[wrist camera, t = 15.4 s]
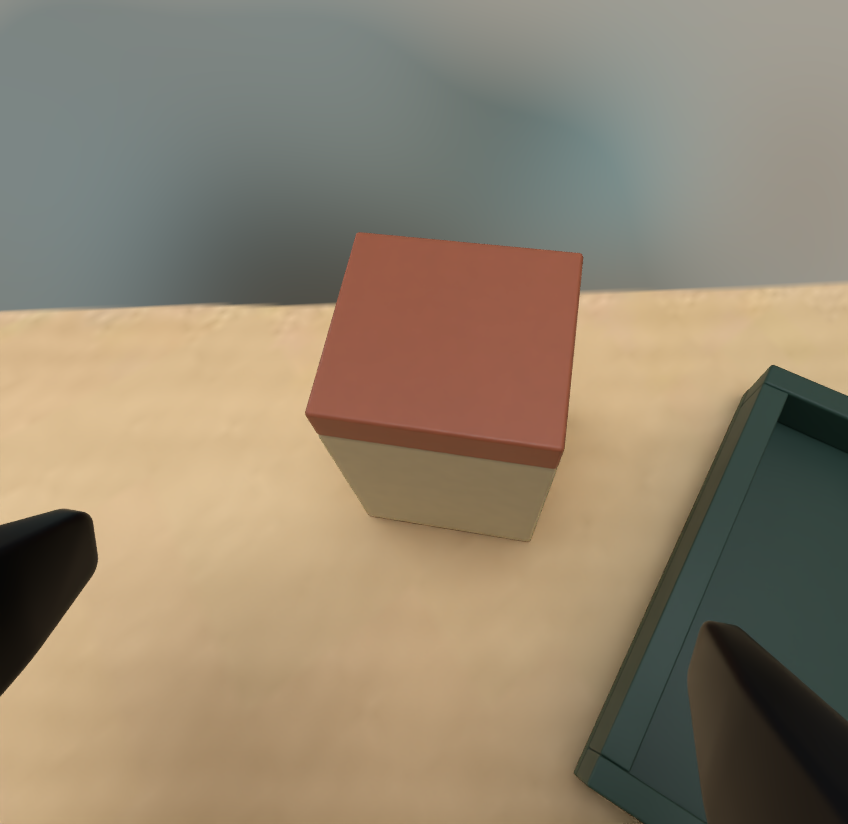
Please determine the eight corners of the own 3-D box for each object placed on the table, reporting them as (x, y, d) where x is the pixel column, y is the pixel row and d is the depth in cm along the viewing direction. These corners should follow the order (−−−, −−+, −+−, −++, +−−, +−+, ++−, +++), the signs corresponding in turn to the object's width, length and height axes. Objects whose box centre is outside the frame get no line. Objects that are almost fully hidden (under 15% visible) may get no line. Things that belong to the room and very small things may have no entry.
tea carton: (530, 542, 20) (564, 451, 12) (367, 516, 21) (302, 414, 13) (545, 405, 22) (584, 252, 14) (396, 385, 23) (355, 230, 15)
